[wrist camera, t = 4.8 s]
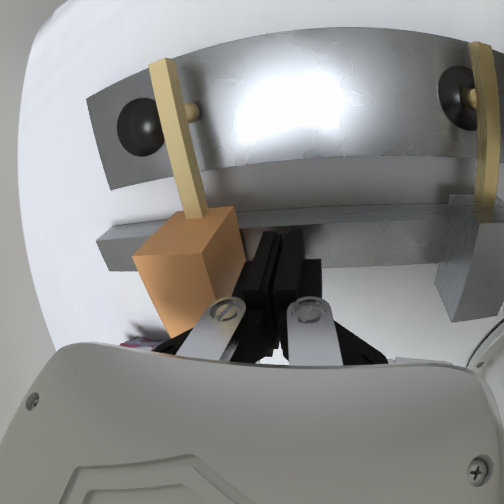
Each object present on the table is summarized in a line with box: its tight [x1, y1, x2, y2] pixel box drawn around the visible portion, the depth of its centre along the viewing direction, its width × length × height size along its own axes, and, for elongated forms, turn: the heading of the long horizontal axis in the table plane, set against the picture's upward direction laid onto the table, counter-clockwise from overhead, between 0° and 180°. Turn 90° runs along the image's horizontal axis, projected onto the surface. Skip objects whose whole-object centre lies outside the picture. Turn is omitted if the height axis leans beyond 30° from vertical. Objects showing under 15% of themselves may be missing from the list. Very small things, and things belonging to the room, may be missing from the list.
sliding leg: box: [132, 58, 246, 339], centre depth 11 cm, size 3×12×5 cm, turn 10°
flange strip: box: [86, 27, 504, 190], centre depth 10 cm, size 23×6×1 cm, turn 100°
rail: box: [96, 204, 448, 271], centre depth 14 cm, size 24×2×2 cm, turn 100°
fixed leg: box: [435, 42, 504, 323], centre depth 8 cm, size 3×12×4 cm, turn 10°
